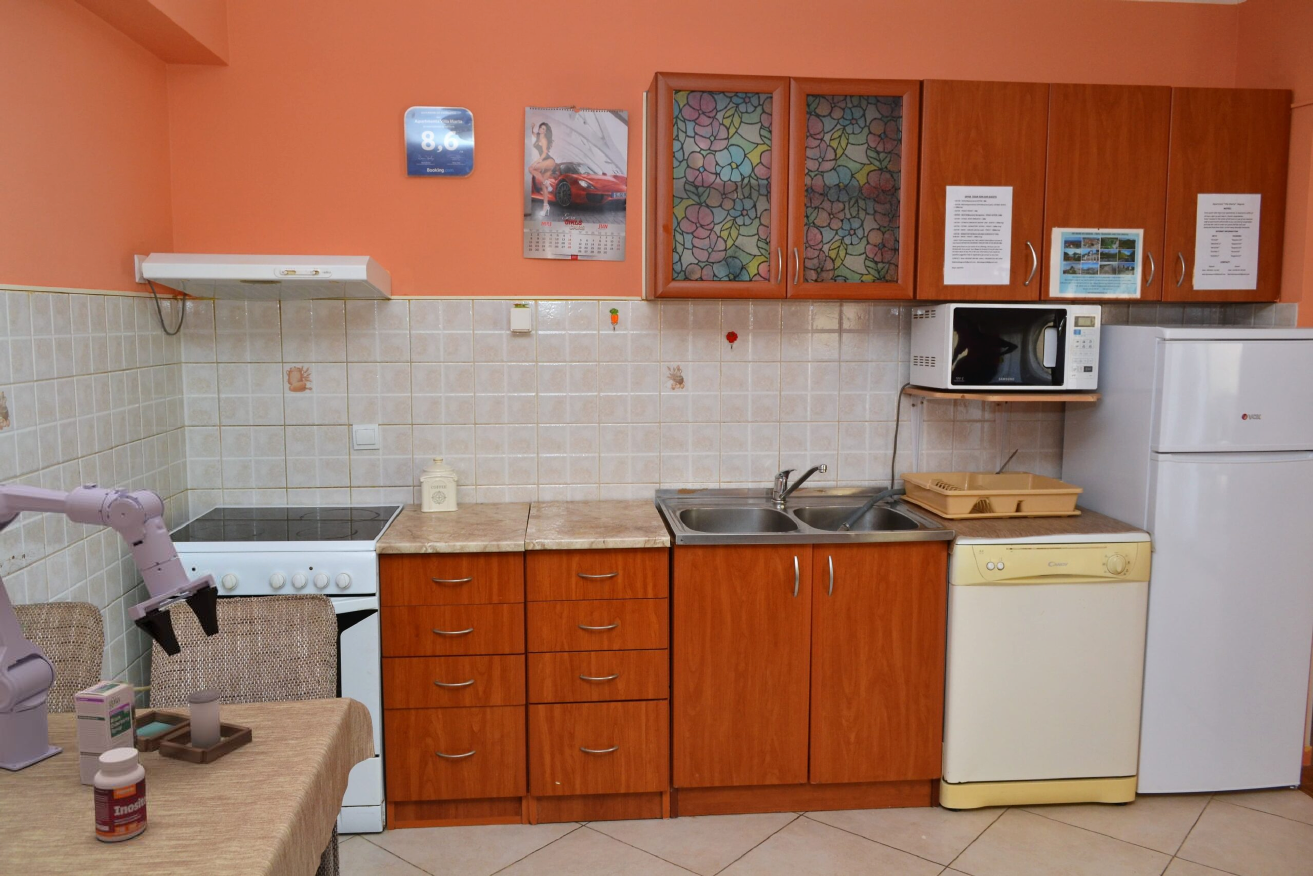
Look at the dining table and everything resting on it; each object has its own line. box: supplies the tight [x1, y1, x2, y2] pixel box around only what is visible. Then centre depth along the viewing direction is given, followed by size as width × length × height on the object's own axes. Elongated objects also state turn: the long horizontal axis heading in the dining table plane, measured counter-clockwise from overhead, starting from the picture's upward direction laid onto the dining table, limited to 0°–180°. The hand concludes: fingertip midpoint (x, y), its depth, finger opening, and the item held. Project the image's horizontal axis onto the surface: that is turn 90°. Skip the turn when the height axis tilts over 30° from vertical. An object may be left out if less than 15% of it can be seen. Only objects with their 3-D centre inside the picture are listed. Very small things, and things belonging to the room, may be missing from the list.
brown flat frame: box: [136, 709, 253, 765], centre depth 160 cm, size 22×10×2 cm, turn 69°
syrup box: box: [73, 680, 140, 787], centre depth 146 cm, size 6×6×14 cm
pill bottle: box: [93, 748, 148, 843], centre depth 130 cm, size 6×6×11 cm
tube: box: [187, 688, 222, 749], centre depth 157 cm, size 5×5×9 cm
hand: (194, 644), depth 149 cm, fingers open, 7 cm apart
